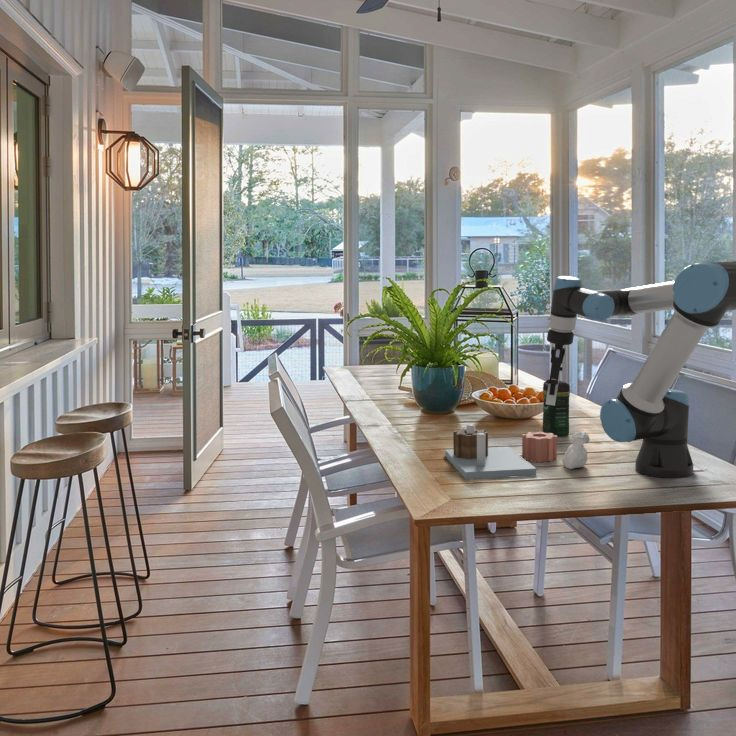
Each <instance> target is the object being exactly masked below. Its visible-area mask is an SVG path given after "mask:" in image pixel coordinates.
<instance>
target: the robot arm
mask: <svg viewBox="0 0 736 736" xmlns="http://www.w3.org/2000/svg"><path fill="white" fill-rule="evenodd" d="M582 286H583V285H582V280H581V278H579V277H575V276H570V275H561V276H557V277H556V278H555V280H554V285H553V289H552V299H551V307H550V314H549V316H548V317H547V320H548V321H549V323H548V327H549V328H548V330H547V334H546V340H547V342H548V343H551V344H554V346H551V351H550V354H551V357H550V363H551V367H550V373H549V379H546V381H547V382H546V383H548V390H547V398H546V404H547V405H554V406H555V402H556V395H557V390H558V383H559V380H560V377H561V375H560V374H561V372H563V370H564V369H563V368H564V367H562V365H563V361H564V357H565V355H566V353H565V352H566V348H565V347H564V346H569V345H572V344H573V342H574V336H575V332H574V330H575V329H576V325H577V324H576V323H577V318H578V317H577V316H578V315H579V316H582V317H585V318H588V319H590V320H592V321H599V322H604V321H606V320H608V319H609V318H611V317H616V316H617V317H619V316H634V315H637V314H645V313H654V312H661V311H669V310H673V314H672V315H671V316H670V318H669V320H668V322H667V323H666V325H665V326H664V329H663V330H662V332H661V334H660V335H659V337H658V339H657V340H656V342H655V344H654V346H653V347H652V349H651V350H650V352H649V353H648V356H647V358H646V359H645V360H644V362H643V364H642V365H641V368H640V370H639V371H638V372H637V374H636V376H635V378H634V379H633V381H632V382H628V383H625V384H624V385H623V387H621V390H620V391H619V393H618V394H617V396H616V397H615V398H609V399H608V400H606V401H605V402H603V404H602V405H601V407H600V411H599V419H600V422H601V427H602V430H603V431H604V433H605V434H606V435H607V437H609V438H610V439H611V440H613V441H614V442H617V443H631V442H634V441H639V440H642V443H641V444H640V445H641V446H640V448H639V450H638V454H637V456H636V459H635V465H634V466H635V468H634V469H635V470H636V471H637V472H638V473H641V474H644V475H647V476H652V477H658V478H671V479H672V478H685V477H688V476H689V477H690V476H691V475H693V474H694V463H693V460H692V459H693V458H692V456H691V453H690V450H689V446H688V437H689V436H688V435H689V411H690V410H689V409H690V402H689V400H690V396H689V395H688V393H687V392H685V391H683V390H679V389H672V388H671V387H672V386H673V384H674V382H675V380H676V379H677V377H678V376H679V374H680V373H681V371H682V370H683V368H684V366H685V365H686V363H687V362H688V360H689V358H691V355H692V354H693V352H694V350H695V349H696V347H697V346H698V344H699V343H700V341H701V340H702V339H703V337H704V335H705V333H706V332H707V330H708V329H712V328H717V326H718V325H719V324H720V322H721V320H722V319H723V317H724V316H725V314H726V312H727V311H735V310H736V260H734V261H732V260H731V261H718V262H717V261H710V260H709V261H706V260H705V261H702V262H697V263H696V262H695V263H692V264H690V265H687V266H686V267H684V268H683V269H682V270H680V272H678V274H677V276H676V277H675V279H674V280H672V281H665V282H661V283H654V284H647V285H646V284H645V285H642V286H635V287H628V288H622V289H619V288H618V289H603V290H602V289H601V290H599V289H598V290H593V289H592V290H591V289H588V288H584V287H582ZM548 380H549V381H548Z"/></svg>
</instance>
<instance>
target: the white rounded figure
mask: <svg viewBox="0 0 736 736" xmlns="http://www.w3.org/2000/svg"><path fill="white" fill-rule="evenodd" d="M590 441H591V440H590V436H589V434H588V433H587V432H582V431H581V430H579V431H577V432H576V433H574V434H573V435H571V443H572V444H570V445H569V446H568V447H567V448H566V451H565V453H564V455H563V458H562V460H561V461H562V464H563V466H564V467H565V468H566V469H569V470H573V469H578V468H583V467H584V466H586V463H587V462H588V451H587V449H586V448H585V446H584V445H585V444H589V443H590Z"/></svg>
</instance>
